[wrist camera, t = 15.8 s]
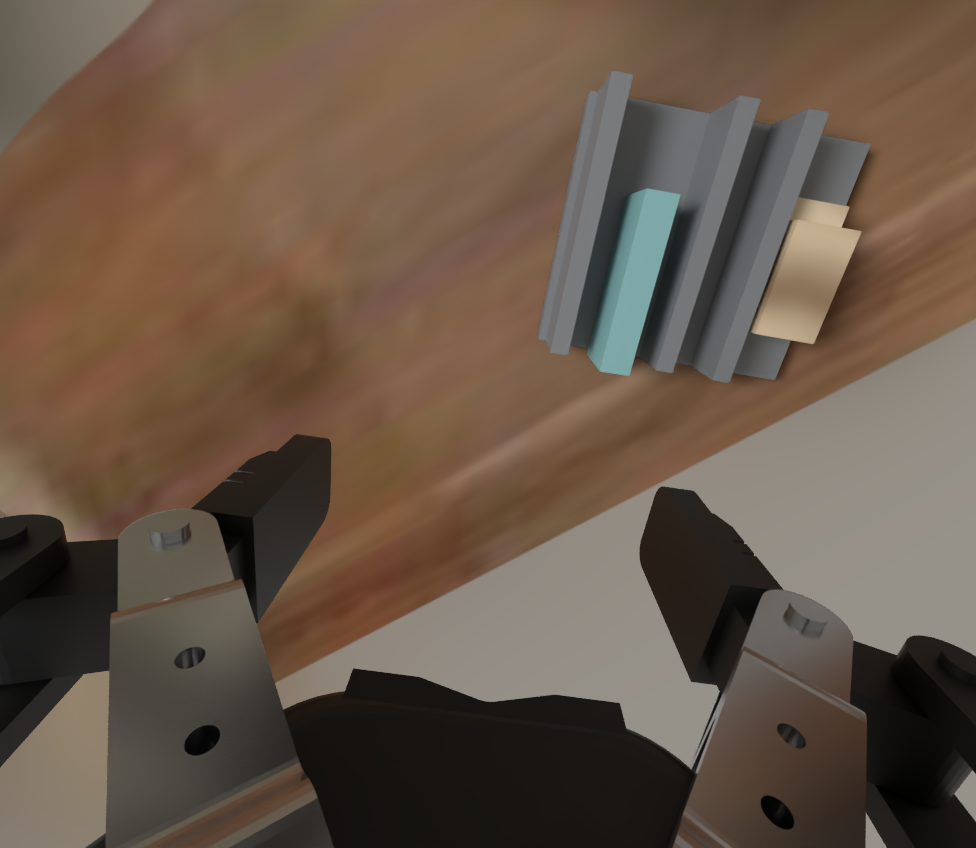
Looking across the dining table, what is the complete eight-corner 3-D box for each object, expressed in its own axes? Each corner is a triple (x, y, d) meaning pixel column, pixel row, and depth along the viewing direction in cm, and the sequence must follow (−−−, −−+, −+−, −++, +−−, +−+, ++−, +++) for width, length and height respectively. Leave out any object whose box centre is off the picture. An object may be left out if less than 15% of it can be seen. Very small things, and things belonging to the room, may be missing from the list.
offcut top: (780, 221, 30) (798, 219, 28) (839, 232, 30) (861, 231, 28) (740, 328, 33) (755, 334, 31) (795, 338, 33) (813, 344, 31)
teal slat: (646, 188, 27) (599, 371, 31) (680, 194, 27) (629, 376, 31) (625, 196, 32) (587, 354, 36) (654, 201, 32) (612, 358, 36)
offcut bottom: (772, 198, 31) (789, 195, 30) (829, 208, 32) (849, 206, 30) (730, 317, 34) (743, 321, 32) (782, 326, 34) (798, 331, 33)
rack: (586, 97, 31) (603, 68, 26) (854, 148, 32) (922, 130, 26) (537, 335, 37) (543, 351, 32) (764, 375, 37) (806, 396, 32)
